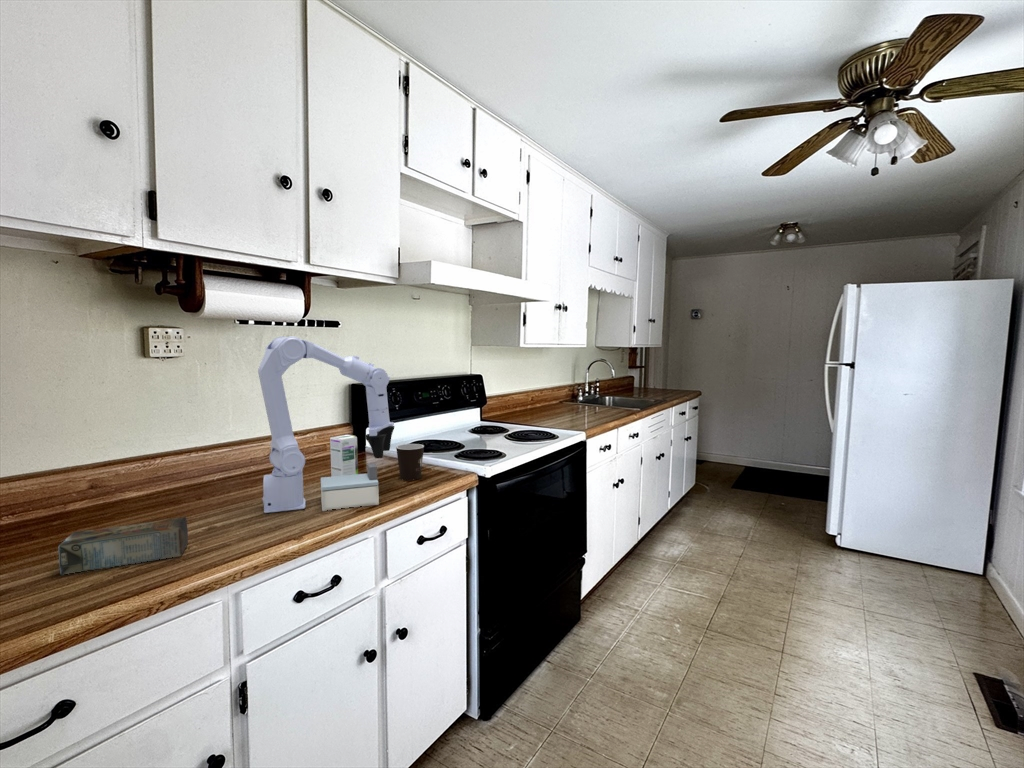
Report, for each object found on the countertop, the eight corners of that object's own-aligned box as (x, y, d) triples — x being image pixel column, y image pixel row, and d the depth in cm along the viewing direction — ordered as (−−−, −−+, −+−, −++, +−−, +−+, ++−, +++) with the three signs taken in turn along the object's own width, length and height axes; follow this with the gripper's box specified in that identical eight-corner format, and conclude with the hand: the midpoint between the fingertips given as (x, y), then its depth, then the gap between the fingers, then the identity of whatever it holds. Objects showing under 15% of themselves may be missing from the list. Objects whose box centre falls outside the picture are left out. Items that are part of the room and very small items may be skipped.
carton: (322, 511, 124) (321, 491, 124) (321, 499, 134) (320, 481, 133) (378, 504, 130) (378, 486, 129) (374, 493, 139) (373, 476, 138)
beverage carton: (74, 560, 96) (71, 527, 96) (189, 543, 105) (188, 513, 104) (58, 577, 89) (56, 542, 89) (184, 558, 98) (182, 525, 97)
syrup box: (342, 487, 145) (341, 438, 144) (330, 483, 149) (329, 436, 147) (358, 482, 150) (357, 436, 148) (347, 479, 153) (346, 433, 152)
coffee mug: (411, 482, 150) (410, 450, 149) (390, 478, 154) (390, 447, 154) (436, 474, 160) (435, 444, 159) (416, 470, 164) (415, 441, 163)
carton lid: (321, 490, 124) (321, 474, 124) (320, 480, 133) (320, 464, 133) (378, 485, 129) (378, 469, 129) (373, 475, 138) (373, 460, 138)
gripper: (385, 413, 135) (389, 460, 137) (397, 403, 149) (401, 446, 151) (359, 414, 135) (364, 461, 137) (375, 404, 150) (379, 448, 151)
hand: (382, 454), depth 144 cm, fingers open, 7 cm apart
